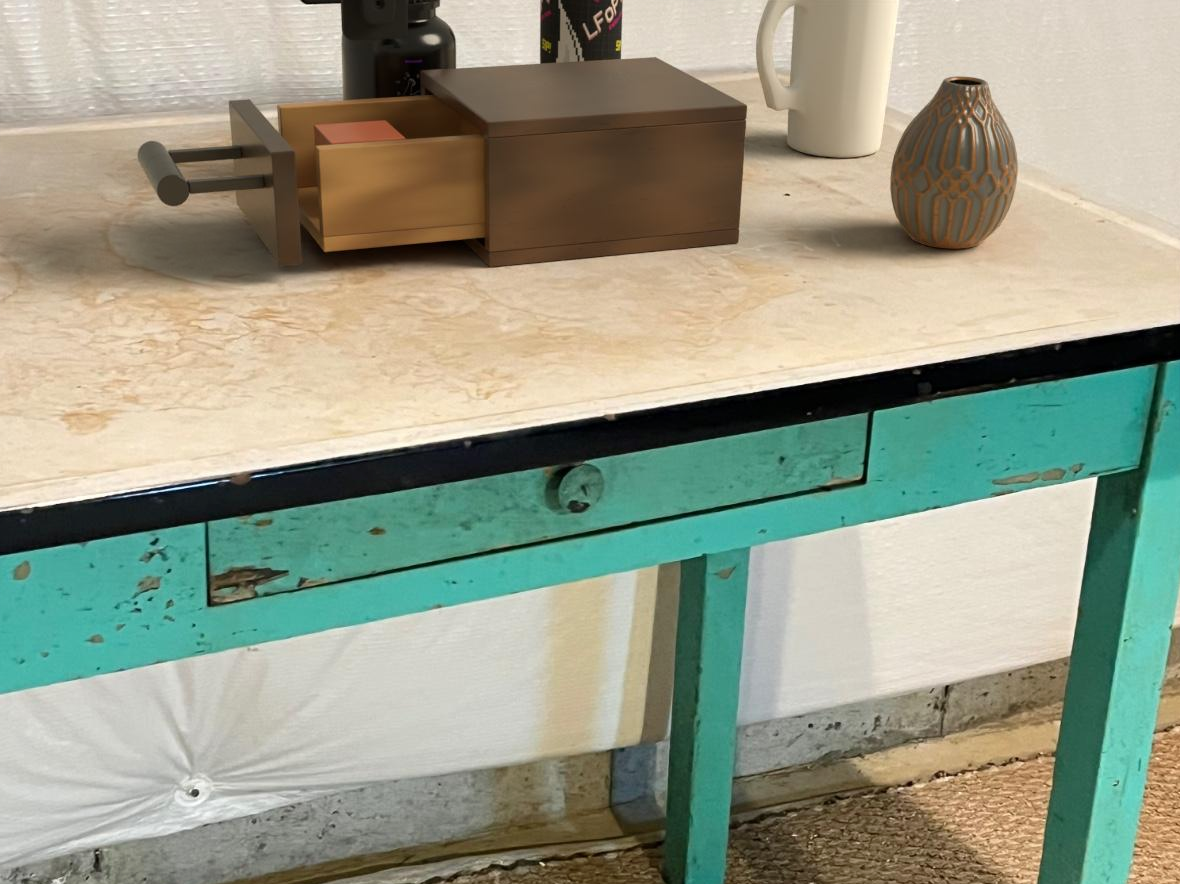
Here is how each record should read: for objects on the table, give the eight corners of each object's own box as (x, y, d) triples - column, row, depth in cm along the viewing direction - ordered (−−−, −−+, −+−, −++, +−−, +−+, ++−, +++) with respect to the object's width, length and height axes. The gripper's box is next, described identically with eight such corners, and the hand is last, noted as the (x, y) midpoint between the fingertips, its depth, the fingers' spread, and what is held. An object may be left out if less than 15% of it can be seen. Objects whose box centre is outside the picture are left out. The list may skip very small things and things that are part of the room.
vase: (925, 262, 92) (945, 99, 88) (862, 226, 98) (877, 71, 94) (1031, 251, 95) (1056, 90, 90) (964, 216, 100) (984, 64, 96)
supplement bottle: (412, 198, 101) (406, -14, 95) (323, 179, 104) (312, -28, 98) (479, 173, 106) (477, -30, 100) (392, 156, 109) (385, -42, 103)
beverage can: (576, 121, 118) (579, -63, 112) (523, 105, 122) (523, -73, 116) (636, 109, 122) (642, -69, 116) (582, 94, 125) (585, -79, 119)
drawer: (171, 276, 85) (159, 160, 82) (138, 212, 94) (127, 106, 91) (530, 243, 91) (530, 134, 88) (466, 186, 100) (464, 86, 97)
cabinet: (489, 267, 90) (488, 122, 86) (423, 202, 100) (419, 70, 96) (738, 243, 95) (747, 104, 91) (651, 183, 105) (656, 56, 101)
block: (335, 218, 90) (331, 143, 88) (317, 198, 93) (313, 124, 91) (407, 212, 91) (405, 137, 89) (388, 192, 95) (385, 120, 93)
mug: (845, 129, 118) (863, -54, 112) (904, 153, 113) (925, -38, 107) (722, 144, 114) (733, -46, 108) (778, 169, 108) (792, -29, 103)
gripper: (221, -366, 85) (245, -7, 93) (297, -365, 71) (317, 57, 79) (368, -360, 87) (378, -11, 96) (469, -358, 73) (471, 50, 82)
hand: (351, 19), depth 87 cm, fingers open, 9 cm apart
